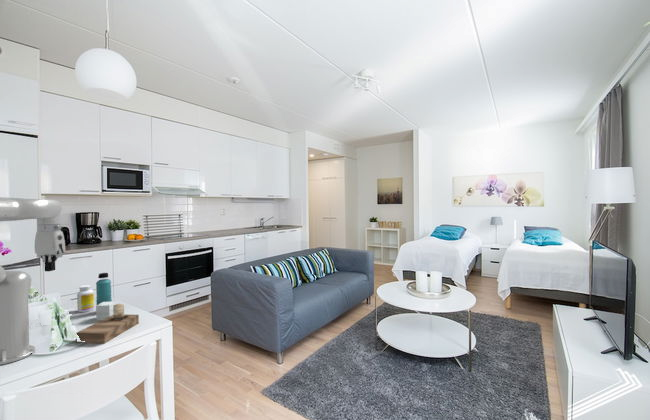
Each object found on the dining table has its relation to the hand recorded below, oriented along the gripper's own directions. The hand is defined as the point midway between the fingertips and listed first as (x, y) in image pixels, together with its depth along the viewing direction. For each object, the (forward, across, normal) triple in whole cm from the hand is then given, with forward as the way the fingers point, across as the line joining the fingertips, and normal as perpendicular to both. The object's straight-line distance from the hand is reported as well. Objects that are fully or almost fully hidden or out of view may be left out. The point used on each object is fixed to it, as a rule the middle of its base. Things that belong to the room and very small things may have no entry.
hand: (50, 270), depth 130 cm
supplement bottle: (+27, +8, -26) cm, 39 cm away
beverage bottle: (+27, -3, -25) cm, 37 cm away
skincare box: (+27, -11, -17) cm, 34 cm away
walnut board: (+27, -25, -2) cm, 37 cm away
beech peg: (+27, -25, -8) cm, 38 cm away
